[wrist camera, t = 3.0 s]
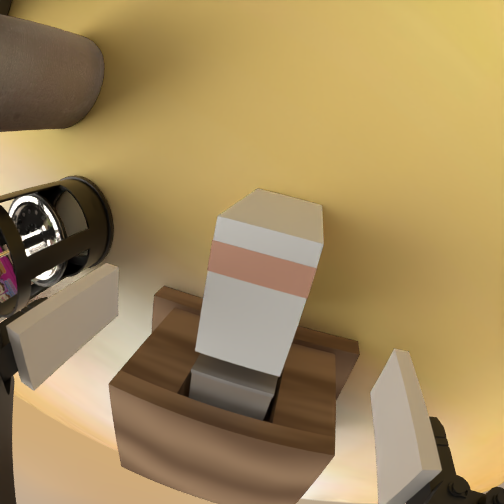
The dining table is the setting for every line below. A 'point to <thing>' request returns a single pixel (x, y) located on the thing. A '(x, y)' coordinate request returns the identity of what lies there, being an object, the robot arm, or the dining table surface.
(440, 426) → the robot arm
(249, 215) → the white carton
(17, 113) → the pillar candle
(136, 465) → the wooden slotted holder
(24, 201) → the french press
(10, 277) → the candy bar box
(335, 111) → the dining table surface
